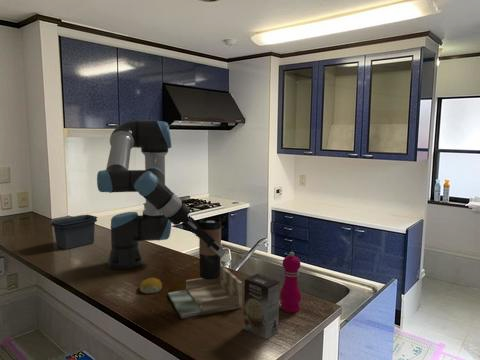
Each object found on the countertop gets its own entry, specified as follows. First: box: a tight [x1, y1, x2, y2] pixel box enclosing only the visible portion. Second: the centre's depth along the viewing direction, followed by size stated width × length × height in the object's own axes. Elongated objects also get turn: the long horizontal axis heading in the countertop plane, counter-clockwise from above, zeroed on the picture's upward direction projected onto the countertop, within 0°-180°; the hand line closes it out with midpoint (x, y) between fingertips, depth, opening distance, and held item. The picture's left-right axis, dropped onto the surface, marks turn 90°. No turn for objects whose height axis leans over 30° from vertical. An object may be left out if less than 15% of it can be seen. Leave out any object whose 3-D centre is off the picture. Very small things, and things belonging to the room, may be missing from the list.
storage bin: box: [50, 214, 98, 250], centre depth 197 cm, size 21×16×14 cm
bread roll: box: [139, 277, 163, 294], centre depth 142 cm, size 8×9×4 cm
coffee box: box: [243, 273, 281, 340], centre depth 111 cm, size 9×6×16 cm
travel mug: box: [198, 217, 222, 280], centre depth 130 cm, size 8×8×20 cm
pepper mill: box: [279, 251, 302, 314], centre depth 126 cm, size 7×7×20 cm
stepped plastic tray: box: [167, 263, 243, 319], centre depth 131 cm, size 20×21×9 cm
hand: (219, 251), depth 132 cm, fingers closed on travel mug, 7 cm apart
